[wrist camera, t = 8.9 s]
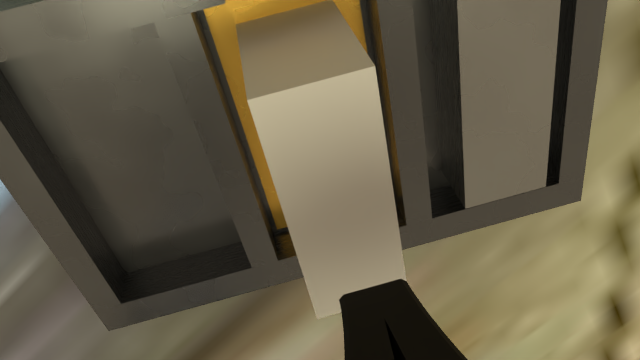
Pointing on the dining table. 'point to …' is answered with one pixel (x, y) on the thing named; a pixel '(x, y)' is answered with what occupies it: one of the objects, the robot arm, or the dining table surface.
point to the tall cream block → (324, 148)
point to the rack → (244, 144)
